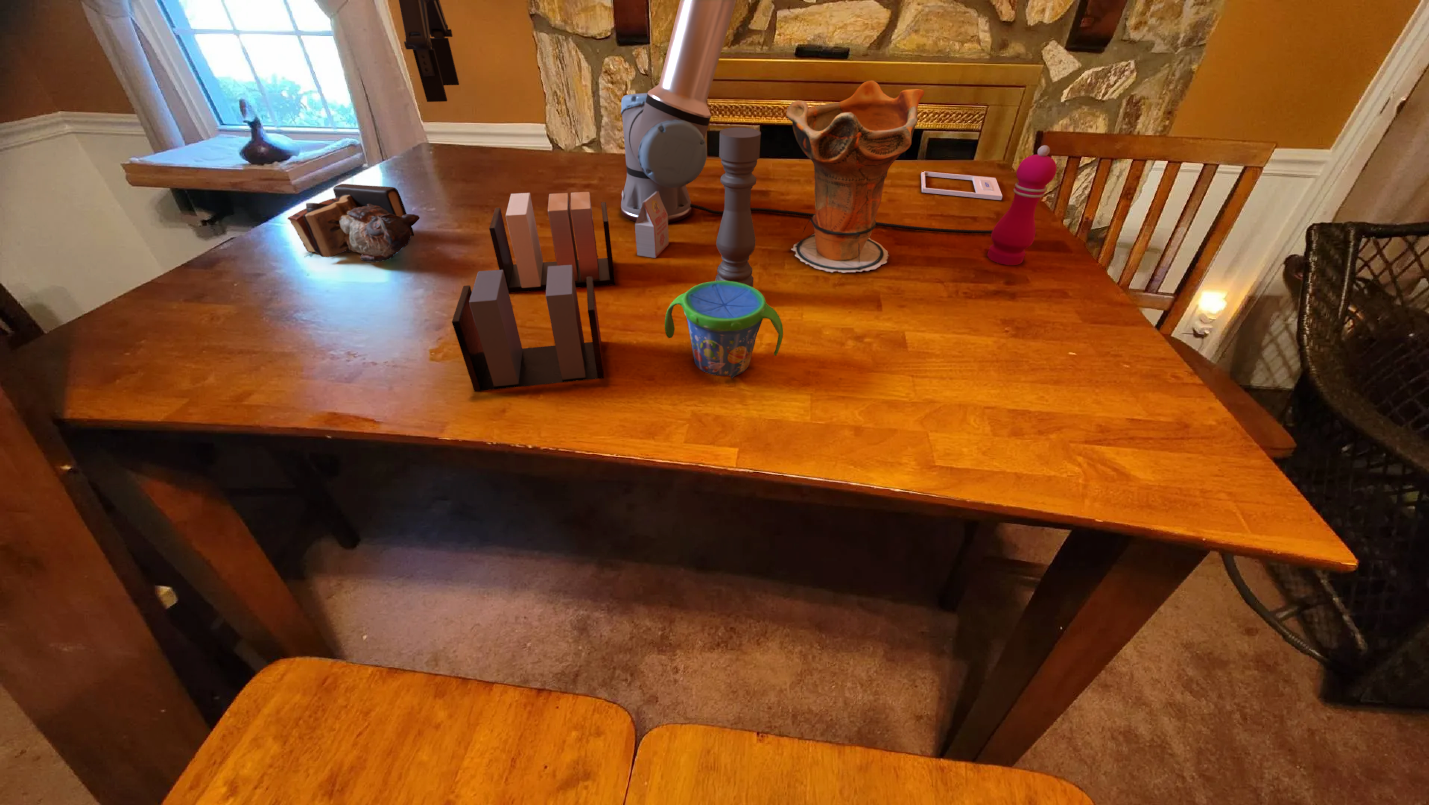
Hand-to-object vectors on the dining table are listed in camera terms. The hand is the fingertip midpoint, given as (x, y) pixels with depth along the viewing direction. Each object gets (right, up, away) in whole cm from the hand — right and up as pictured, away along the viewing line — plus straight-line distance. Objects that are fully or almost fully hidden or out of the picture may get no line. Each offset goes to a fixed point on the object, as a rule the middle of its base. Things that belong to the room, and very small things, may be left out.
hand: (444, 92), depth 87 cm
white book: (+11, -27, +8) cm, 30 cm away
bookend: (-20, -21, +16) cm, 33 cm away
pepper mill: (+97, -21, +18) cm, 101 cm away
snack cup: (+43, -44, -11) cm, 62 cm away
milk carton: (+31, -19, +19) cm, 41 cm away
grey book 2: (+23, -43, -12) cm, 51 cm away
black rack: (+16, -27, +9) cm, 32 cm away
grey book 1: (+15, -44, -14) cm, 49 cm away
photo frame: (+103, +5, +51) cm, 115 cm away
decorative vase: (+66, -21, +19) cm, 71 cm away
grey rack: (+19, -44, -12) cm, 50 cm away
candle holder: (+46, -31, +5) cm, 55 cm away
